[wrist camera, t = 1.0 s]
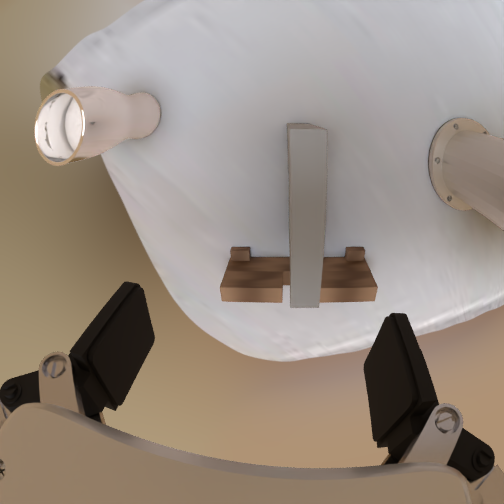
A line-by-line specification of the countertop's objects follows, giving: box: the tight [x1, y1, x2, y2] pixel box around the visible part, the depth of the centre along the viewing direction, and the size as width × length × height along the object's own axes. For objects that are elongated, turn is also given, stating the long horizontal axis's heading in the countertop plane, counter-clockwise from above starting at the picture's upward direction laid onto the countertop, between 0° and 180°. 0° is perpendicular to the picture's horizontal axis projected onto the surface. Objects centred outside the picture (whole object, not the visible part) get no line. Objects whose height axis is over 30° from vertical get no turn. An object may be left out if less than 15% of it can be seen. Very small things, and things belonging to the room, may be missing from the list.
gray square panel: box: [287, 124, 327, 308], centre depth 25 cm, size 2×14×14 cm, turn 3°
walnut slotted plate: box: [220, 247, 378, 303], centre depth 34 cm, size 18×5×7 cm, turn 93°
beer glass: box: [34, 86, 161, 166], centre depth 23 cm, size 7×7×15 cm
